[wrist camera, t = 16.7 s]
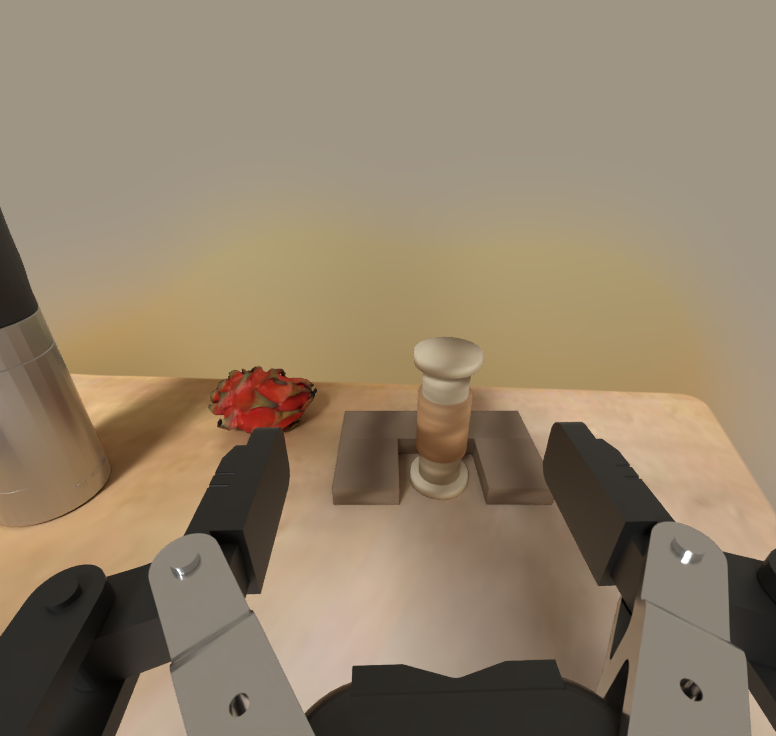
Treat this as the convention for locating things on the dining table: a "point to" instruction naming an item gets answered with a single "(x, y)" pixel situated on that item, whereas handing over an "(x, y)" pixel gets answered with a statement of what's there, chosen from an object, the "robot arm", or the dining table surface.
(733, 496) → the dining table surface
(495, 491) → the notched board
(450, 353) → the bobbin
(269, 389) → the dragon fruit
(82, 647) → the robot arm
